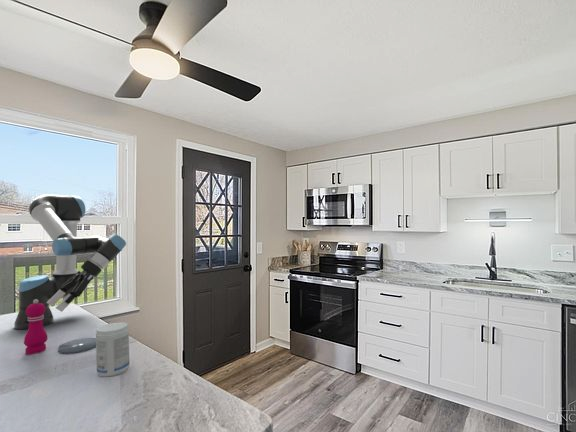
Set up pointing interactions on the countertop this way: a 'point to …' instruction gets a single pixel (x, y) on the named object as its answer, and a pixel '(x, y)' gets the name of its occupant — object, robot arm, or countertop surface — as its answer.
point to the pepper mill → (35, 329)
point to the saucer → (77, 345)
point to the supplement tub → (112, 349)
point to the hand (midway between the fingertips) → (53, 307)
